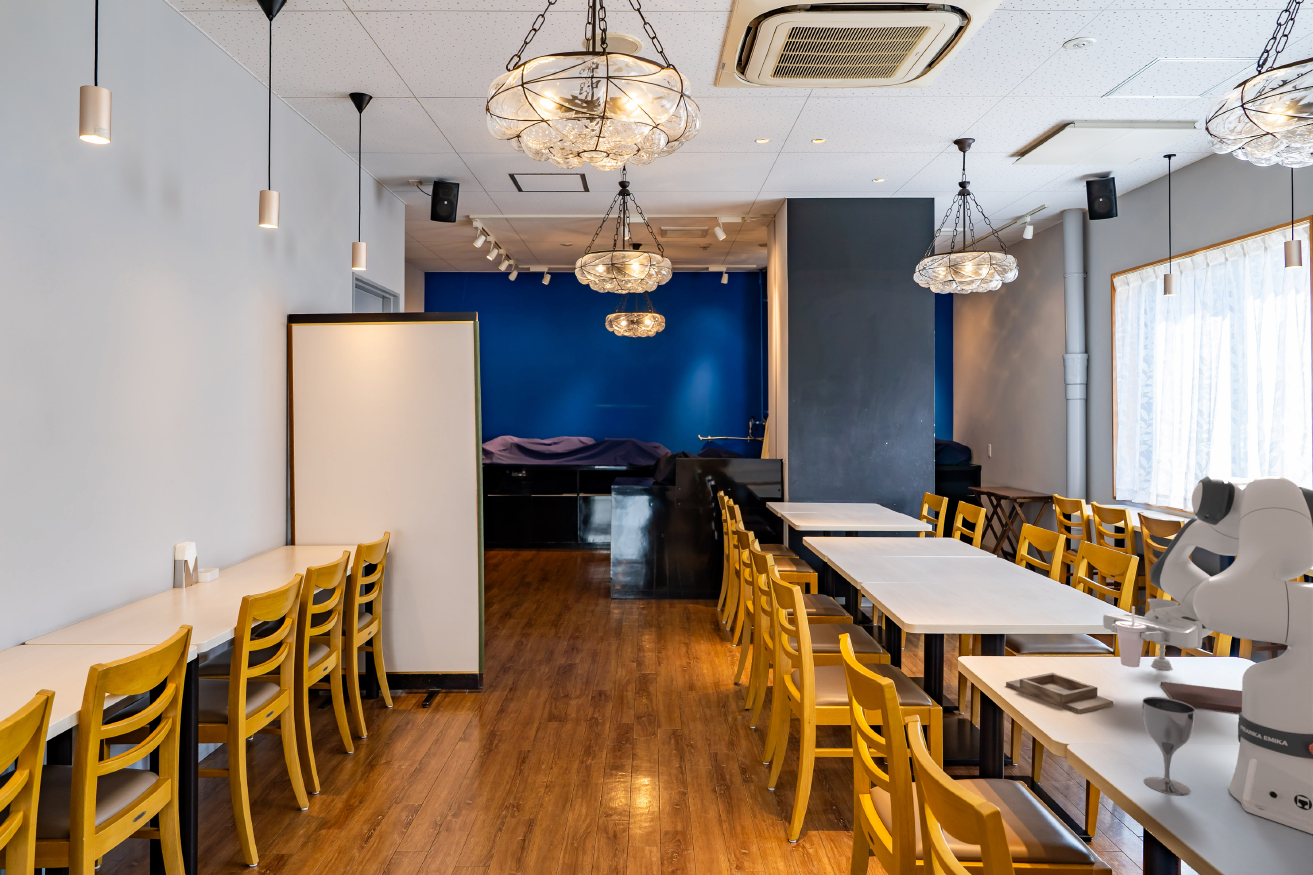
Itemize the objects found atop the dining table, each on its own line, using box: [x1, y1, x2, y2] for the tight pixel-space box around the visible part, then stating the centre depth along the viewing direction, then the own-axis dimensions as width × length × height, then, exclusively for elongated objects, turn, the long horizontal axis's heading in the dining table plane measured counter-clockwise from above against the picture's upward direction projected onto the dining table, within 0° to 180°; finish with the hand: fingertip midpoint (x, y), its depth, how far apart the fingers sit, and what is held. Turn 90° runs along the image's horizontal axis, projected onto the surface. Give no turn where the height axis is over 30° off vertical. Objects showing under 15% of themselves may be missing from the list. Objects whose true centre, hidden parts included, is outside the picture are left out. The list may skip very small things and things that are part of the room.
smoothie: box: [1115, 605, 1146, 668], centre depth 182 cm, size 6×6×14 cm
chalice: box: [1147, 598, 1180, 671], centre depth 208 cm, size 7×7×18 cm
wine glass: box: [1141, 696, 1196, 796], centre depth 139 cm, size 8×8×15 cm
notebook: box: [1160, 681, 1242, 714], centre depth 183 cm, size 15×20×2 cm
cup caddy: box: [1005, 672, 1114, 714], centre depth 186 cm, size 20×12×3 cm, turn 25°
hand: (1128, 632), depth 181 cm, fingers closed on smoothie, 6 cm apart
